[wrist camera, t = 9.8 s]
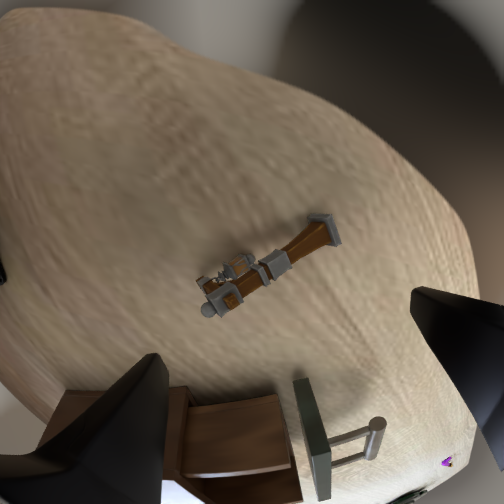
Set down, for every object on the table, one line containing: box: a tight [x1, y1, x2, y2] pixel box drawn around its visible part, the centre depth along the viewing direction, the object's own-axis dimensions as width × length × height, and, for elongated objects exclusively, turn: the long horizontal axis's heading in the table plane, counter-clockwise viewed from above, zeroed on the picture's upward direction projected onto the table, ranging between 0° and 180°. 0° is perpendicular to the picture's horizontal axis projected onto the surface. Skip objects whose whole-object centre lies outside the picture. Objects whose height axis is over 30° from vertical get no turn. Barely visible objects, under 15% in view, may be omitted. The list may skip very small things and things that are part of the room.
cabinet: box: [36, 386, 216, 504], centre depth 17 cm, size 14×14×9 cm
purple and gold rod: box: [442, 457, 453, 467], centre depth 38 cm, size 3×1×16 cm
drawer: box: [179, 378, 387, 504], centre depth 17 cm, size 17×12×7 cm
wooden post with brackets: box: [196, 214, 342, 318], centre depth 14 cm, size 2×8×4 cm, turn 114°
